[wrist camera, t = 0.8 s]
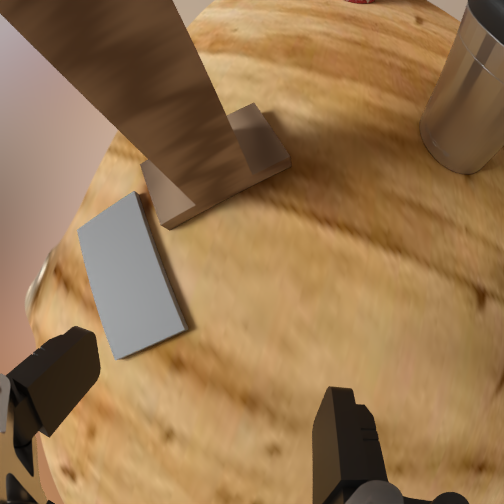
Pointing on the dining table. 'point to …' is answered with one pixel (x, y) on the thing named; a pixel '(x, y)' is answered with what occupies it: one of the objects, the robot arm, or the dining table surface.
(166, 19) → the stand
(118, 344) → the board
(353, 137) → the dining table surface
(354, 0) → the mug
